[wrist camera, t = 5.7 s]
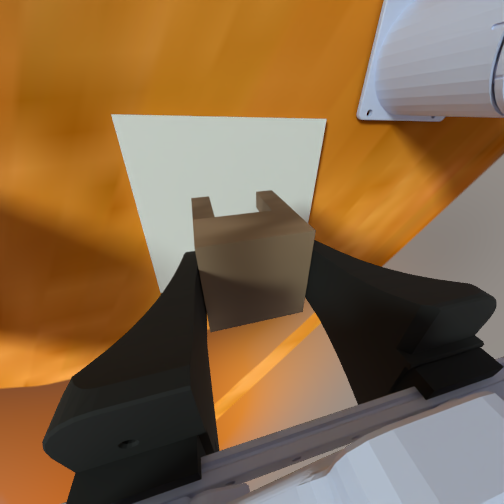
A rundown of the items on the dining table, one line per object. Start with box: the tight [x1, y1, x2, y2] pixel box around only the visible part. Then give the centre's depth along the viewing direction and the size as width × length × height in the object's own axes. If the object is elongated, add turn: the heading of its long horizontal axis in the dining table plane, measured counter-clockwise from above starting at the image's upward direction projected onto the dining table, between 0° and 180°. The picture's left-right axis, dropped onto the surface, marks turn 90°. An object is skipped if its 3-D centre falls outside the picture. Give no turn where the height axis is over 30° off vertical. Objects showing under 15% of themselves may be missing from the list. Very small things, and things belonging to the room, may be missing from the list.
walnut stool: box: [191, 190, 316, 332], centre depth 12 cm, size 5×5×6 cm
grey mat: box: [112, 114, 327, 293], centre depth 21 cm, size 16×16×1 cm
